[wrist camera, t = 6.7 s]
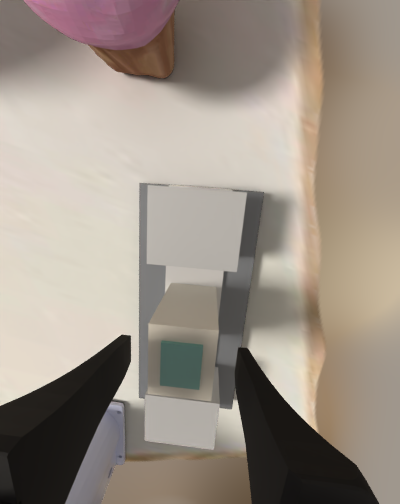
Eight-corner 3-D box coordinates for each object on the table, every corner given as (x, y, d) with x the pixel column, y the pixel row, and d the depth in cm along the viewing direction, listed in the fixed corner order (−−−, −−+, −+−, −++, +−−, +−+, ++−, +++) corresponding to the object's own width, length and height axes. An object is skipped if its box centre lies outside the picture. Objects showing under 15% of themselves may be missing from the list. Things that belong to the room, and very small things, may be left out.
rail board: (230, 399, 21) (236, 457, 16) (142, 389, 21) (121, 442, 16) (260, 193, 16) (282, 186, 11) (143, 184, 16) (115, 173, 11)
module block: (211, 336, 17) (211, 404, 11) (168, 332, 17) (146, 396, 11) (216, 287, 16) (219, 333, 10) (171, 282, 16) (147, 325, 10)
